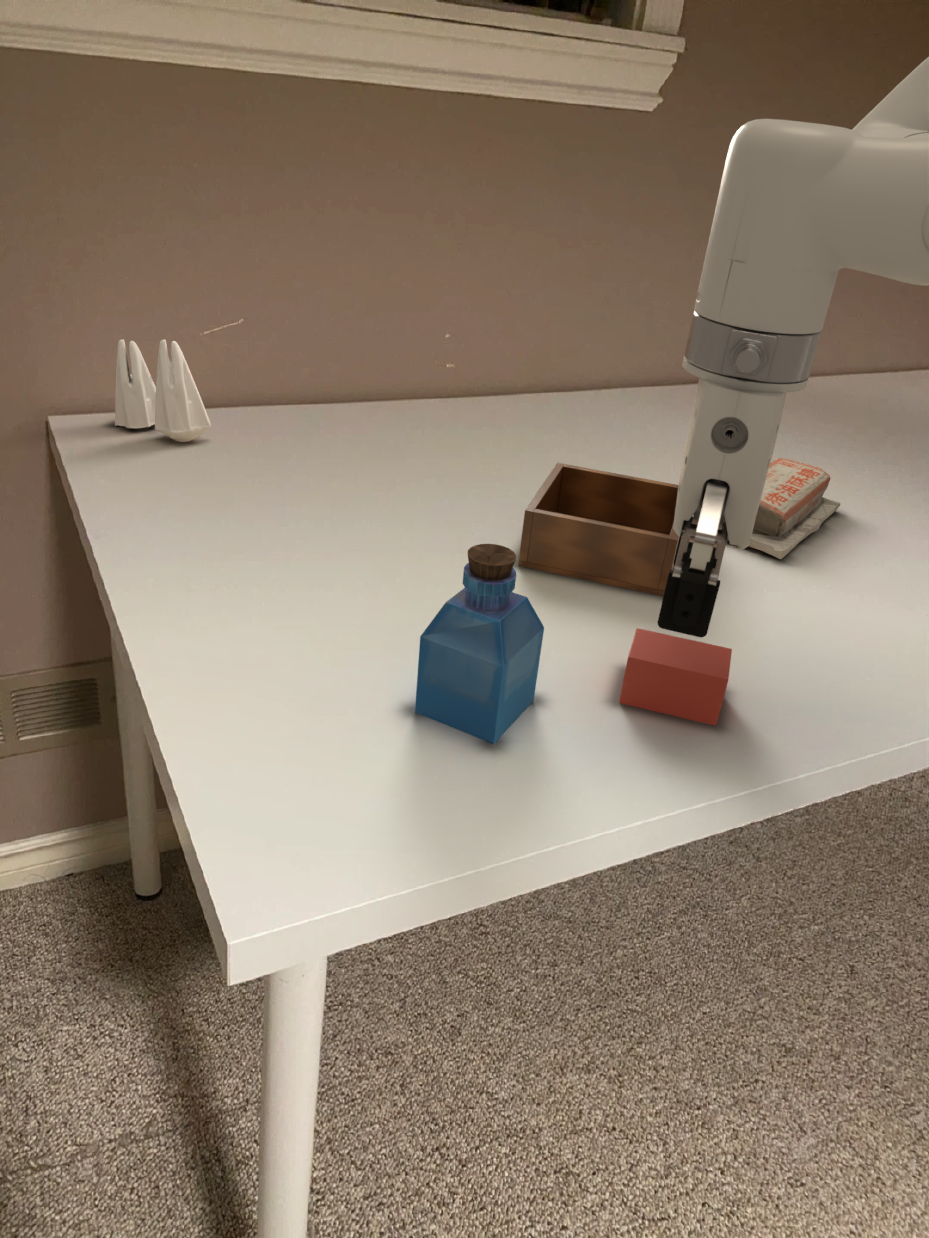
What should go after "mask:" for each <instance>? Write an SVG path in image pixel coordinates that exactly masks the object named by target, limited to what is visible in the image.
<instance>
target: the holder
mask: <svg viewBox="0 0 929 1238" xmlns="http://www.w3.org/2000/svg"><path fill="white" fill-rule="evenodd" d="M678 485H679V484H675V483H670V482H664V481H659V480H653V479H647V478H643V477H638V476H631V475H626V474H620V473H616V472H610V471H605V470H600V469H593V468H589V467H583V466H577V465H572V464H566V463H561V462H556V464H555V465H554V467H553V468H552V470H551V471H550V473H549V474H548V476H546V477H545V480H544V481H543V482H542V484H541V486H540V487H539V488H538V490H537V491H536V493H535V495H534V496H533V498H532V499H531V501H530V502H529V504H528V505H527V506H526V508H525V509H524V515H523V524H522V531H521V538H520V547H519V555H518V563H517V566H518V567H523V568H528V569H532V570H536V571H541V572H547V573H551V574H556V575H561V576H566V577H569V578H575V579H580V580H585V581H589V582H593V583H598V584H603V585H608V586H614V587H618V588H623V589H627V590H632V591H637V592H641V593H645V594H646V593H647V594H651V595H655V596H661V597H663V596H664V592H665V588H666V583H667V579H668V575H669V571H670V570H674V558H675V554H676V550H677V545H678V541H679V536H678V535H677V534H676V533H675V531H674V530H673V525H674V516H675V508H676V500H677V493H678Z"/></svg>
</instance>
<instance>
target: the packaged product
mask: <svg viewBox="0 0 929 1238" xmlns="http://www.w3.org/2000/svg"><path fill="white" fill-rule="evenodd" d="M830 481H831V476H830V474H829V473H827V472H826V471H824V470H823V468H820V467H818V466H813V465H810V464H806V463H803V462H799V461H797V460H792V459H788V458H783V457H778V458H777V459H775V460H773V461H771V462H770V466H769V470H768V474H767V477H766V481H765V485H764V489H763V492H762V496H761V500H760V504H759V508H758V512H757V516H756V520H755V524H754V528H753V532H752V536H751V540H750V544H749V546H747V548H748V547H749V548H752V549H755V550H757V551H761V552H763V553H766V554H767V555H770V556H773V557H775V558H776V559H778V560H783V558H785V557H786V556H787V555H788V554H789V553H791V551H792V550H793V549H794V548H795V547H796V546H797V545H799V543H801V542H802V541H803V540H805V539H806V538H807V537H808V536H810V535H811V534H813V533H815V532H817V531H819V530H820V528H821V525H822V524H823V523H824V521H826V520H828V518H829V517H830V516H832V515H833V514H834V513H835V512H836V511H837V510H838V509H839V508H840V506H841V502H839V501H837V500H833V499H829V498H826V497H824V494H825V492H826V491H827V489H828V486H829V483H830ZM727 538H728V537H727ZM728 541H729V538H728Z"/></svg>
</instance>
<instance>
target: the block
mask: <svg viewBox="0 0 929 1238" xmlns="http://www.w3.org/2000/svg"><path fill="white" fill-rule="evenodd" d="M732 652H733V649H732V648H729V647H726V646H721V645H716V644H711V643H706V642H702V641H698V640H693V639H689V638H684V637H679V636H675V635H670V634H666V633H661V632H657V631H652V630H647V629H643V628H636V630H635V633H634V636H633V640H632V643H631V646H630V649H629V652H628V656H627V661H626V666H625V670H624V676H623V679H622V680H623V681H622V686H621V690H620V695H619V700H618V703H619V704H622V705H626V706H631V707H635V708H638V709H643V710H648V711H651V712H656V713H661V714H664V715H668V716H673V717H676V718H680V719H685V720H690V721H693V722H698V723H701V724H702V723H703V724H706V725H711V726H715V727H717V725H718V721H719V717H720V713H721V710H722V706H723V702H724V698H725V696H726V695H725V694H726V691H727V687H728V683H729V677H730V671H731V670H730V669H731V661H732Z"/></svg>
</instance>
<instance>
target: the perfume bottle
mask: <svg viewBox="0 0 929 1238" xmlns="http://www.w3.org/2000/svg"><path fill="white" fill-rule="evenodd" d="M467 559H468V563H466V564H465V565H464V566H463V572H462V573H463V574H462V585H463V587H464V588H462V589H461V590H460V591H458V592H457V593H455V594H454V595H453V596H452V597H450V598H449V599H447V600H446V601H445V603H444V604H443V605H442V607H441V608H440V609H439V611H438V612H437V613H436V614H435V616H434V617H433V618H432V620H431V622H430V623H429V624H428V625H427V627H426V628H425V629H424V631H423V632H422V634H421V635H420V637H419V647H418V648H419V649H418V663H417V664H418V665H417V674H416V675H417V676H416V691H415V704H414V713H416V714H417V715H419V716H422V717H425V718H427V719H430V720H433V721H435V722H437V723H440V724H443V725H445V726H447V727H450V728H453V729H455V730H457V731H460V732H463V733H464V734H467V735H470V736H472V737H475V738H478V739H480V740H483V741H485V742H487V743H490V744H493V745H495V744H496V743H497V742H498V740H499V739H501V738H502V736H503V735H504V733H506V732H507V731H508V730H509V728H510V727H511V726H512V725H513V724H514V723H515V722H516V721H517V720H518V718H520V717H521V715H523V713H524V712H525V711H526V710H527V709H528V708H529V707H530V705H532V704H533V702H534V700H535V694H536V689H537V680H538V673H539V667H540V659H541V652H542V646H543V641H544V640H543V639H544V634H545V633H544V632H545V626H544V624H543V623H542V621H541V619H540V617H539V616H538V614H537V612H536V610H535V608H534V607H533V605H532V603H531V601H530V600H529V598H528V596H525V595H522V594H519V593H516V592H514V590H515V589H516V580H517V571H516V569H515V568H514V565H515V563H516V561H517V554H516V553H515V551H514V550H512V549H511V548H509V547H506V546H504V545H500V544H497V543H479V544H474V545H473V546H471V547H469V548H468V549H467Z"/></svg>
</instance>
